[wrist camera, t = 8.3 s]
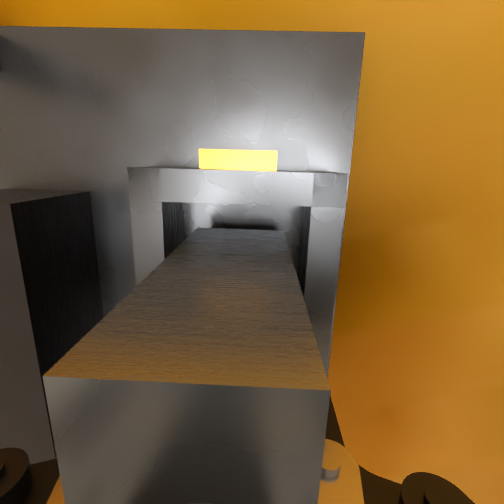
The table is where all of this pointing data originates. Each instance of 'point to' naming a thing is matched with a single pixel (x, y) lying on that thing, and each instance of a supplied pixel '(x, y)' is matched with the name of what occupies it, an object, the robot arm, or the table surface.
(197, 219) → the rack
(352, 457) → the robot arm
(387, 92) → the table surface
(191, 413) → the grey rectangular block
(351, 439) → the table surface
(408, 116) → the table surface
